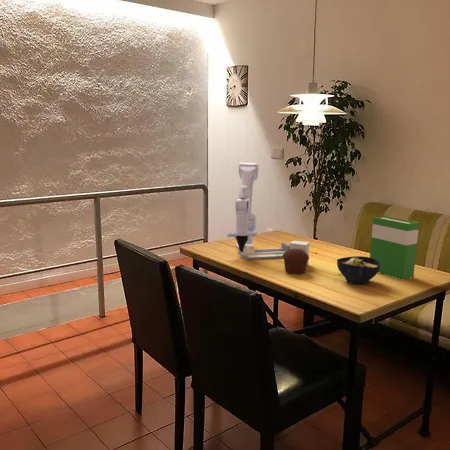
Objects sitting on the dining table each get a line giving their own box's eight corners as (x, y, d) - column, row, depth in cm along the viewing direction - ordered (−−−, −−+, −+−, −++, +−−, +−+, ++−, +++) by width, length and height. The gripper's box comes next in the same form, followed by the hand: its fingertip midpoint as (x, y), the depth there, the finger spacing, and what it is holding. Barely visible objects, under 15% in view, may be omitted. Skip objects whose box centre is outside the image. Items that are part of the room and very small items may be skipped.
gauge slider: (243, 252, 236) (243, 243, 235) (251, 251, 237) (251, 243, 236) (248, 256, 229) (248, 247, 228) (255, 255, 230) (256, 247, 229)
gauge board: (238, 253, 238) (238, 243, 237) (283, 251, 244) (284, 242, 243) (245, 259, 226) (245, 249, 225) (292, 257, 232) (293, 247, 231)
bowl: (386, 282, 197) (388, 259, 195) (364, 291, 185) (366, 266, 183) (349, 273, 209) (351, 250, 207) (327, 280, 197) (329, 257, 195)
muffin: (307, 268, 214) (308, 247, 212) (309, 276, 203) (311, 253, 202) (280, 267, 215) (281, 245, 213) (281, 274, 204) (282, 252, 202)
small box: (308, 264, 221) (309, 242, 219) (305, 267, 216) (306, 244, 214) (291, 262, 224) (293, 240, 222) (288, 265, 219) (289, 242, 217)
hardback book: (368, 269, 215) (373, 217, 210) (379, 267, 219) (384, 215, 214) (402, 280, 201) (408, 224, 196) (413, 277, 205) (419, 222, 200)
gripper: (229, 225, 225) (228, 253, 227) (259, 224, 228) (257, 252, 231) (225, 222, 231) (225, 250, 234) (254, 222, 235) (253, 248, 238)
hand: (241, 251), depth 233 cm, fingers closed
